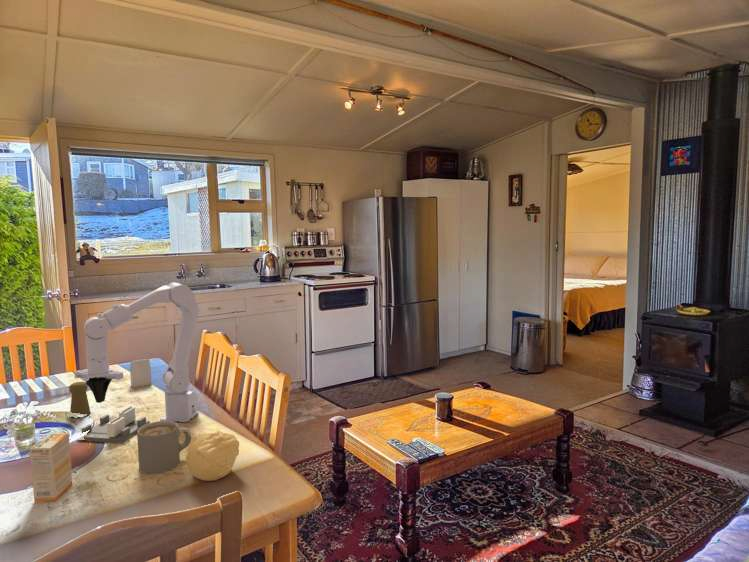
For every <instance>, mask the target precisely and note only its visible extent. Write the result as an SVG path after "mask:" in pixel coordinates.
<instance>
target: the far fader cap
mask: <svg viewBox="0 0 749 562" xmlns="http://www.w3.org/2000/svg"><path fill="white" fill-rule="evenodd" d="M120 416H121V417H124V418H125V426H126V425H128V424H129V423H131V422H133V421H134V420H137V419H136V407H134V406H129V407H127V408H125V409H124V410H121V411H120V412H118V417H120Z"/></svg>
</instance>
